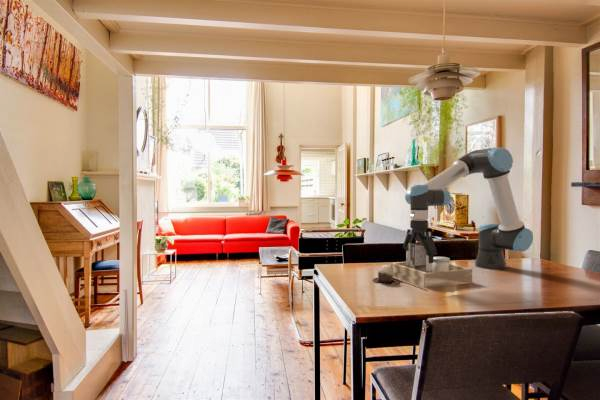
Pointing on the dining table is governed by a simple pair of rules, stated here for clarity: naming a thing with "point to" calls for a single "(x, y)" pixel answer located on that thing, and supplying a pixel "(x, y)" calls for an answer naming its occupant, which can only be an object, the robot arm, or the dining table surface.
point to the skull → (386, 276)
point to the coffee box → (417, 257)
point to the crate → (432, 276)
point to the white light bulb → (440, 264)
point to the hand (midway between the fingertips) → (418, 267)
